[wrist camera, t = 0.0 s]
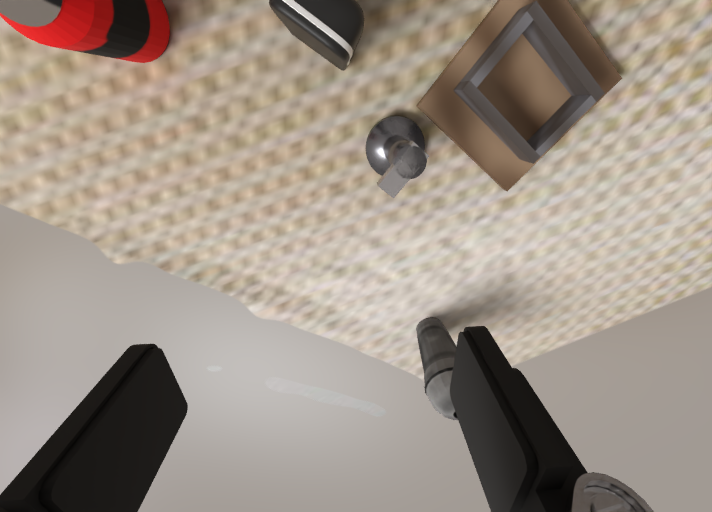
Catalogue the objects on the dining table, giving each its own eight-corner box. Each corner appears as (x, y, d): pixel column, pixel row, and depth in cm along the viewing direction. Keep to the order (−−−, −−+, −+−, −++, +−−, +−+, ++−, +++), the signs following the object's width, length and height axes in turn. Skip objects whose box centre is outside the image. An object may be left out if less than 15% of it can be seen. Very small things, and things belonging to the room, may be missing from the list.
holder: (529, -41, 29) (556, -60, 25) (614, 78, 34) (646, 76, 30) (416, 105, 34) (424, 106, 31) (503, 189, 39) (519, 198, 36)
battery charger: (364, 37, 31) (374, 7, 21) (345, 73, 32) (346, 61, 22) (304, -10, 29) (284, -68, 19) (287, 31, 30) (259, -3, 20)
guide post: (391, 102, 34) (408, 102, 25) (434, 142, 36) (464, 155, 27) (354, 152, 36) (357, 169, 27) (396, 187, 38) (412, 213, 30)
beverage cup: (417, 306, 48) (461, 428, 30) (458, 316, 49) (523, 438, 31) (401, 339, 51) (432, 466, 33) (440, 347, 52) (489, 474, 34)
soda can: (169, 74, 32) (82, 62, 21) (91, 45, 30) (-44, 16, 20) (174, -11, 29) (74, -77, 18) (88, -49, 27) (-76, -144, 17)
